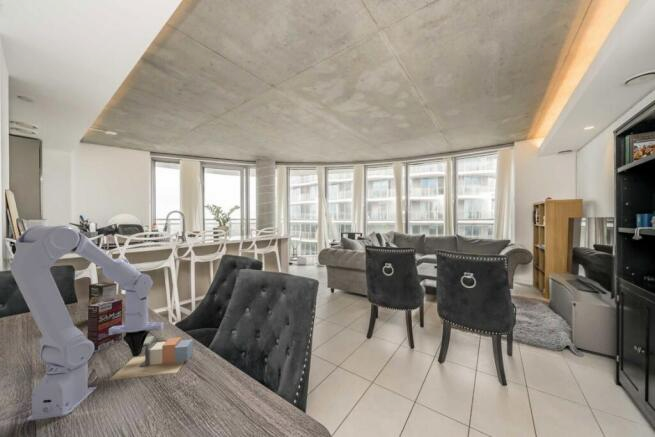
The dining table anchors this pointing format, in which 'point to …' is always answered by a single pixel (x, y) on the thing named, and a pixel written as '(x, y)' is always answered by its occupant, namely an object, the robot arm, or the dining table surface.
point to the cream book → (156, 354)
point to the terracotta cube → (169, 350)
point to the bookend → (146, 362)
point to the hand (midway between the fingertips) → (137, 354)
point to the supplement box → (104, 323)
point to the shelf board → (145, 369)
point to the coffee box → (102, 292)
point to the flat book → (148, 340)
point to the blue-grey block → (183, 350)
